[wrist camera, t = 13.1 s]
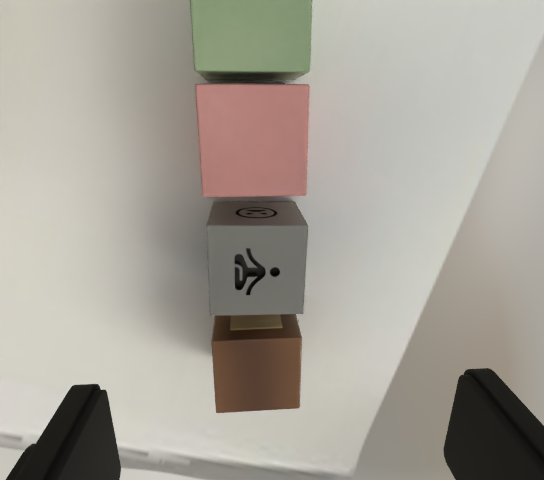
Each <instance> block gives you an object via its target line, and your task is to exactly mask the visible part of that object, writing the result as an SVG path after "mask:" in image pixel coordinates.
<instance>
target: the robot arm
mask: <svg viewBox="0 0 544 480" xmlns="http://www.w3.org/2000/svg"><path fill="white" fill-rule="evenodd" d="M444 457H445V460H446V463H447V465H448V467H449V468H450V470H451V472H452V474H453V476H454V477H455V479H456V480H544V426H543V425H542V423H541V422H540V421H539V420H538V419H537V418H536V417H535V416H534V415H533V414H532V413H531V412H530V410H529V409H528V408H527V407H526V406H525V405H524V404H523V403H522V402H521V401H520V400H519V399H518V397H517V396H516V395H515V394H514V393H513V392H512V391H511V390H510V389H509V388H508V386H507V385H506V384H505V383H504V382H503V381H502V380H501V379H500V378H499V377H498V376H497V374H496V373H495V372H494V371H492V370H491V369H488V368H486V369H468V370H466V371H465V372H464V375H461V376H460V377H459V380H458V384H457V389H456V394H455V398H454V403H453V407H452V412H451V417H450V421H449V426H448V431H447V435H446V440H445V445H444ZM120 471H121V466H120V460H119V454H118V449H117V444H116V438H115V433H114V428H113V422H112V417H111V412H110V406H109V401H108V396H107V392H106V390H100V387H99V385H98V384H87V385H74V386H72V387H71V388H70V390H69V391H68V393H67V395H66V396H65V398H64V399H63V401H62V403H61V404H60V406H59V407H58V409H57V411H56V412H55V414H54V416H53V417H52V419H51V420H50V422H49V424H48V425H47V427H46V428H45V430H44V432H43V433H42V435H41V436H40V438H39V440H38V441H37V443H36V444H32V445H30V446H29V447H28V448H27V449H26V450H25V451H24V452H23V454H22V455H21V457H20V458H19V460H18V462H17V463H16V465H15V466H14V468H13V469H12V471H11V472H10V474H9V475H8V477H7V479H6V480H119V478H120Z"/></svg>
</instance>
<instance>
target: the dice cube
mask: <svg viewBox="0 0 544 480" xmlns="http://www.w3.org/2000/svg"><path fill="white" fill-rule="evenodd" d="M307 237H308V225H307V223H306V221H305V219H304V217H303V216H302V214H301V212H300V210H299V209H298V207H297V205H296V203H295V202H214V203H213V206H212V209H211V213H210V216H209V220H208V223H207V248H208V276H209V305H210V316H216V315H269V314H303V306H304V289H305V271H306V254H307Z"/></svg>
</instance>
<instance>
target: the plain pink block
mask: <svg viewBox="0 0 544 480" xmlns="http://www.w3.org/2000/svg"><path fill="white" fill-rule="evenodd" d="M195 88H196V103H197V119H198V135H199V151H200V167H201V183H202V196H203V197H249V196H305V195H306V187H307V154H308V121H309V88H310V86H309V85H308V84H285V83H220V84H196V86H195Z"/></svg>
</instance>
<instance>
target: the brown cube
mask: <svg viewBox="0 0 544 480" xmlns="http://www.w3.org/2000/svg"><path fill="white" fill-rule="evenodd" d="M301 349H302V336H301V333H300V329H299V325H298V321H297V317H296V314H269V315H216V316H215V319H214V327H213V335H212V356H213V372H214V388H215V404H216V412H217V413H225V412H242V411H260V410H277V409H294V408H299V407H300V382H301Z"/></svg>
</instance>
